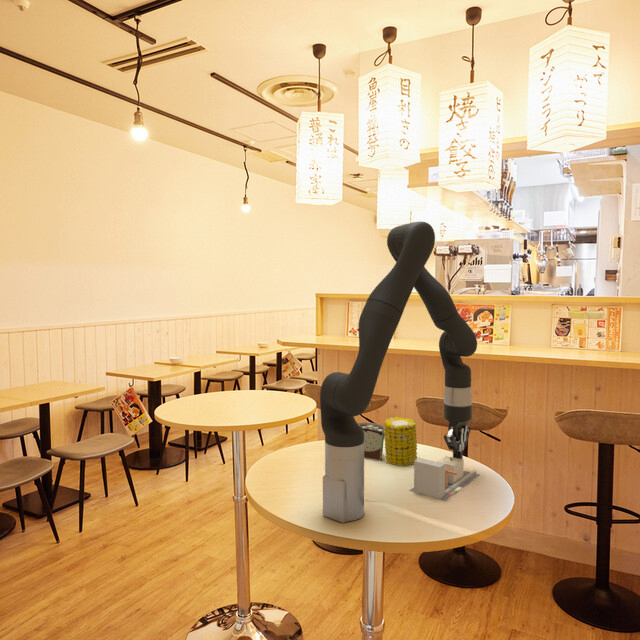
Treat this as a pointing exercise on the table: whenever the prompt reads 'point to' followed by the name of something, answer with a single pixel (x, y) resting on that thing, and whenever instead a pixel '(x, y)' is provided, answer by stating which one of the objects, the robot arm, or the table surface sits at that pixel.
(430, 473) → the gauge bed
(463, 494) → the table surface
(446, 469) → the brown slider plate
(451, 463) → the gauge housing
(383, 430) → the chocolate cake half
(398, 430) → the food
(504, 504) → the table surface
